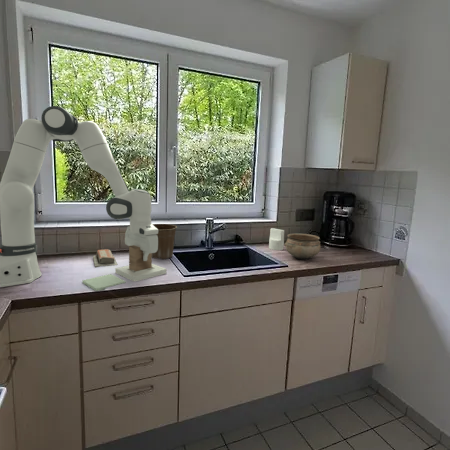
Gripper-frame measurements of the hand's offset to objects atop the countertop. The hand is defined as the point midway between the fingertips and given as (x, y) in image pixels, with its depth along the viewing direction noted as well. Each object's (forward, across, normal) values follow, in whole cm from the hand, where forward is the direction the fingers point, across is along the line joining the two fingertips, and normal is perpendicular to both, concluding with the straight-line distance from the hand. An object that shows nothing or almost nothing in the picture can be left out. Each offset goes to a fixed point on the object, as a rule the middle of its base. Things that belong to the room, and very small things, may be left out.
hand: (140, 258), depth 137 cm
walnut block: (+4, 0, 0) cm, 4 cm away
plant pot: (+7, -18, +24) cm, 31 cm away
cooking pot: (+6, +34, +82) cm, 88 cm away
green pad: (+7, 0, -17) cm, 18 cm away
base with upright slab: (+6, +11, +90) cm, 90 cm away
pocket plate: (+7, 0, 0) cm, 7 cm away
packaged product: (+8, -27, -2) cm, 29 cm away
